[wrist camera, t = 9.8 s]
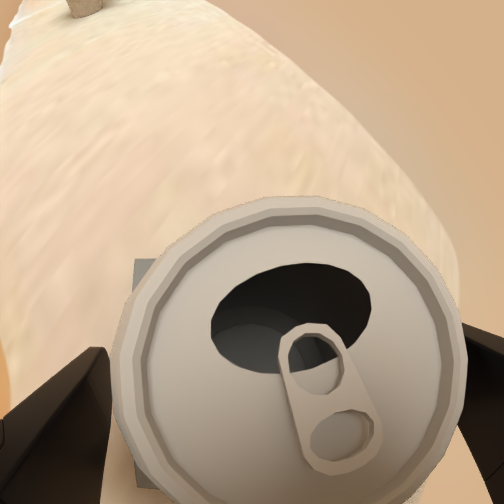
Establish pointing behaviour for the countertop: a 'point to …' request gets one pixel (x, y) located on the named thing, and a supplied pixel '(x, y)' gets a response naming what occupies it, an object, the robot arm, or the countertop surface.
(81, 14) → the house plant
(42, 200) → the countertop surface
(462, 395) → the can
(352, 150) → the countertop surface
